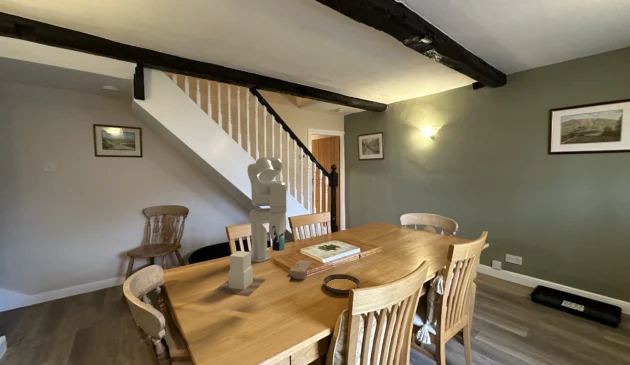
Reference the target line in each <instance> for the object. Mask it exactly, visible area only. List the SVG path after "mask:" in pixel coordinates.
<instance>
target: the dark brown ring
mask: <svg viewBox="0 0 630 365" xmlns="http://www.w3.org/2000/svg"><path fill="white" fill-rule="evenodd" d="M334 279H348V280H351V281H353V282H355V283H356V284H357V287H356V288H357V289H358V288H359V287H360V285H361V281H360V279H359V278H357V277H355V276H353V275H351V274H345V273H335V274H334V273H333V274H330V275H327V276H325V277H324V278H323V280H322V281H323V284H324V286H325V287H326V288H327V289H328V291H330V290H331V292H332V291H333V292H332V293H335V292H336V294H341V293H346V294H350V293H349V291H350V290H351V289H352V288H351V289H346V290H341V289H335V288H331V287H329V286H327V283H328V282H329V281H331V280H334ZM353 289H355V288H353Z"/></svg>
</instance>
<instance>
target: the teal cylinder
mask: <svg viewBox="0 0 630 365" xmlns="http://www.w3.org/2000/svg"><path fill="white" fill-rule="evenodd" d="M284 236H285V235H284ZM284 236H283V235H279V251H278V252H282V251H284V250H285V237H284ZM275 237H276V238H277V236H275Z"/></svg>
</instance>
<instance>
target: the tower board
mask: <svg viewBox="0 0 630 365" xmlns="http://www.w3.org/2000/svg"><path fill="white" fill-rule="evenodd" d="M266 280H267V278H260V277H254V276H253V283H251V284H250V285H249V286H248V287H247V288H246V289H245V290H242V289H235V288H229V279H228V280H226V281H225V282H223V283H222V284H220V285H219V286H218V287H217V288H215V289H214V290H213V292H215V293H221V294H229V295H235V296H242V297H248V298H249V297H250V296H251V295H252V294H253V293H254V292H255V291H256V290H257V289H258V288H259V287H260V286H261V285H262V284H263V283H264V282H266Z"/></svg>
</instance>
